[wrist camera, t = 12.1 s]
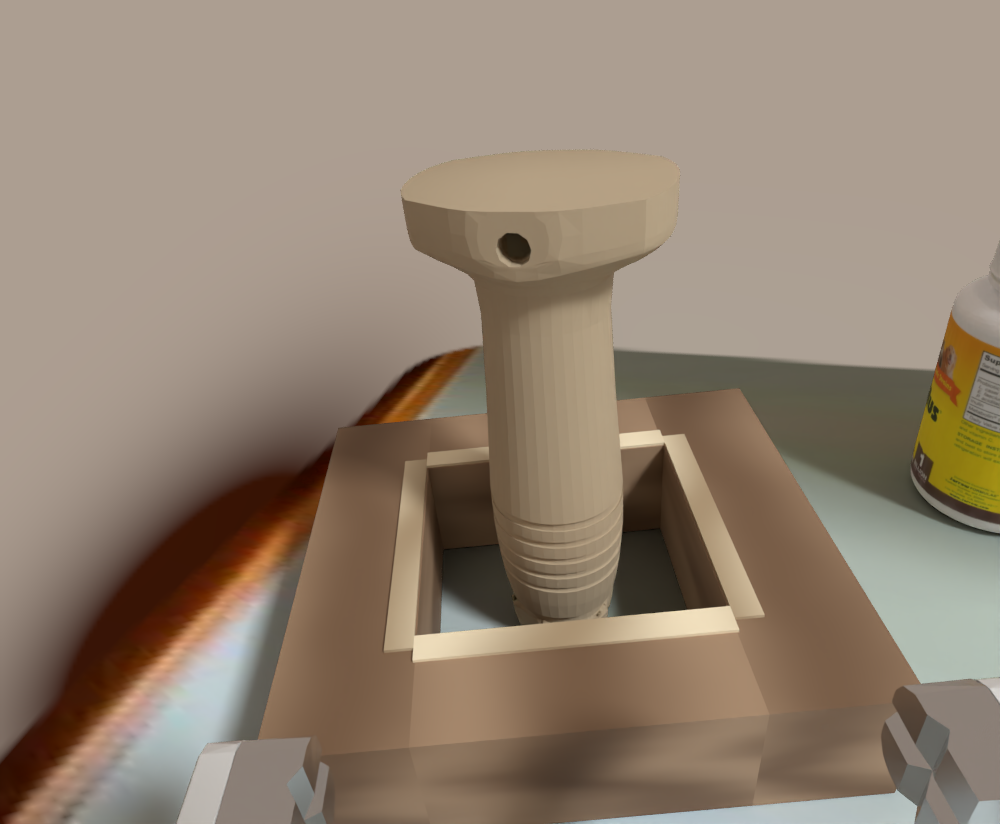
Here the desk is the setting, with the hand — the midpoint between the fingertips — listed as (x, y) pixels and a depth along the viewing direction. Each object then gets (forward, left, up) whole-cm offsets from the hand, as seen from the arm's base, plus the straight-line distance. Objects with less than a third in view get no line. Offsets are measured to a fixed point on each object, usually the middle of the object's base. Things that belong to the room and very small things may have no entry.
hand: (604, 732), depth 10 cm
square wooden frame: (0, -11, -10) cm, 15 cm away
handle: (0, -11, -10) cm, 15 cm away
